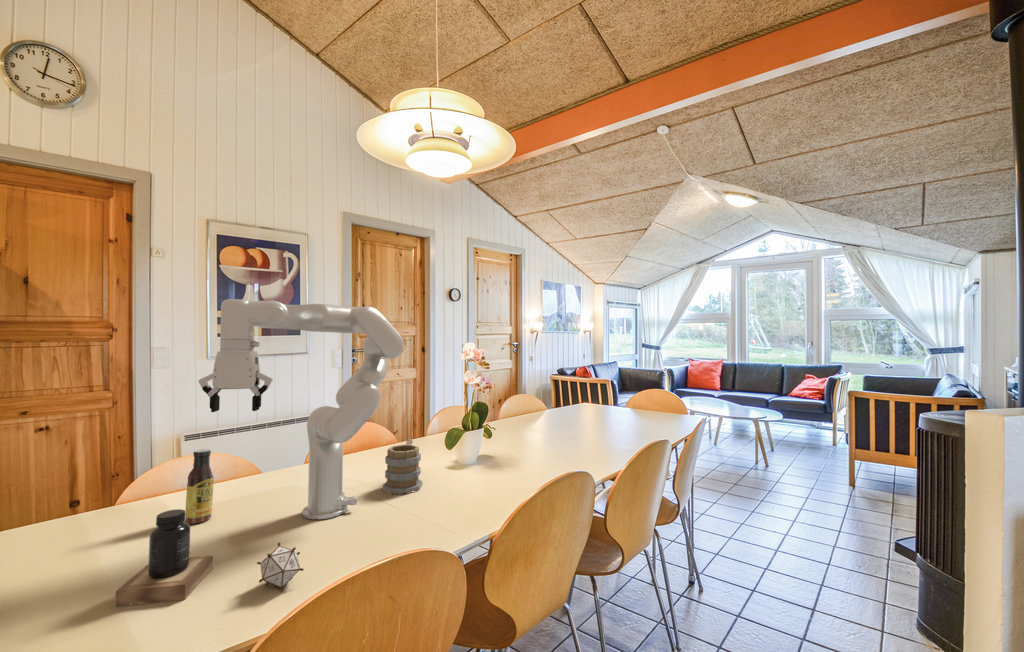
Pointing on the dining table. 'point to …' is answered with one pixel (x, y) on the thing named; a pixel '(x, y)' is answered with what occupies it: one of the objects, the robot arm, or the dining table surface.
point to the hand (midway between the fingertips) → (235, 410)
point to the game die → (280, 566)
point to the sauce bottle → (199, 489)
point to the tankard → (402, 468)
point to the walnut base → (164, 584)
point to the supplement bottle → (169, 545)
